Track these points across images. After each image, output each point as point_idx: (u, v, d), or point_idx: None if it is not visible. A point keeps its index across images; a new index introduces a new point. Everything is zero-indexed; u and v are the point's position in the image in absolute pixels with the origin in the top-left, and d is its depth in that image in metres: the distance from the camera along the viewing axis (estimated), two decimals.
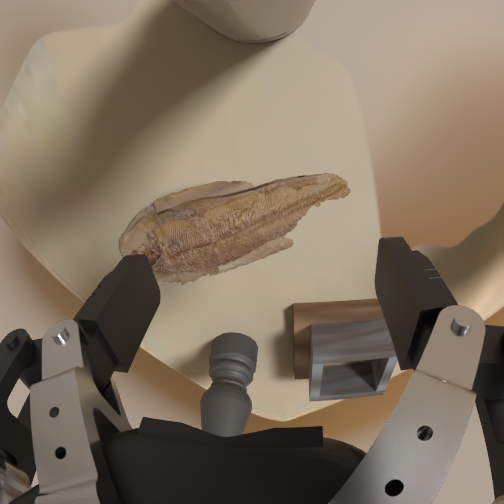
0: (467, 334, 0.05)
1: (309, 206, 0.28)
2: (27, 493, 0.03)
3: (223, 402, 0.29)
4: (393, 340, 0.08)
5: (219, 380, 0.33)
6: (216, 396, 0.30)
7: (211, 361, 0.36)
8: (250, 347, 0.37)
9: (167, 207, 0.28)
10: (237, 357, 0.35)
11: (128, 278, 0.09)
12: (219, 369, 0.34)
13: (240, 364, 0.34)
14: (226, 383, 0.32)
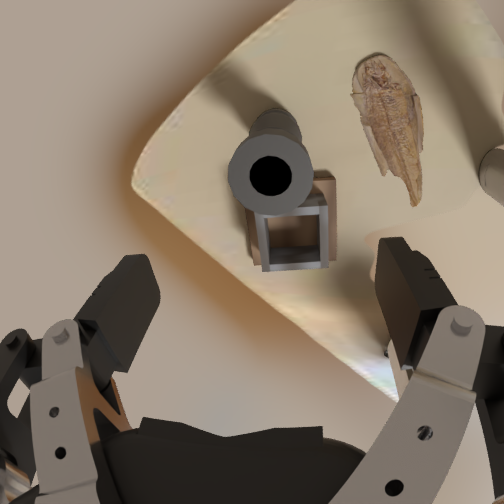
0: (467, 334, 0.05)
1: None
2: (27, 493, 0.03)
3: (300, 141, 0.31)
4: (393, 340, 0.08)
5: None
6: (300, 133, 0.31)
7: (283, 113, 0.36)
8: None
9: (415, 104, 0.35)
10: None
11: (128, 278, 0.09)
12: None
13: None
14: None
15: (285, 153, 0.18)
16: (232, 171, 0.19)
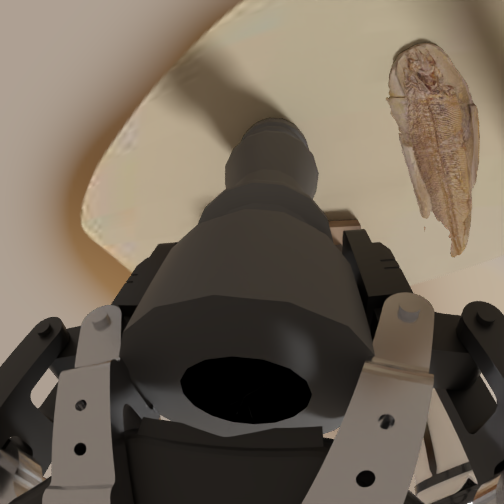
0: (412, 319, 0.05)
1: (450, 230, 0.29)
2: (27, 493, 0.03)
3: (316, 182, 0.18)
4: None
5: None
6: (316, 167, 0.18)
7: (285, 126, 0.23)
8: None
9: (472, 117, 0.22)
10: None
11: None
12: None
13: None
14: None
15: (296, 354, 0.05)
16: (133, 374, 0.06)
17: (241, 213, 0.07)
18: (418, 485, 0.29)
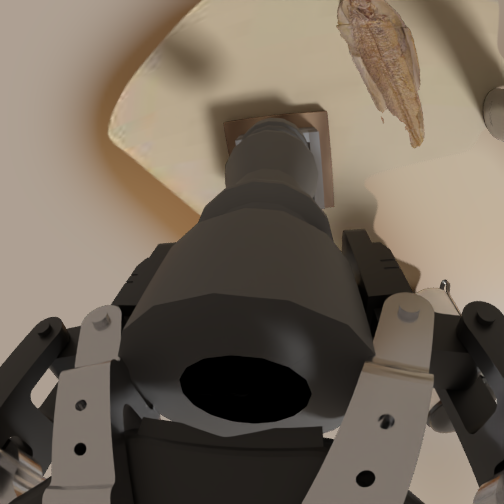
0: (412, 319, 0.05)
1: (405, 122, 0.36)
2: (27, 493, 0.03)
3: (316, 182, 0.18)
4: None
5: None
6: (316, 166, 0.18)
7: (285, 126, 0.23)
8: None
9: (406, 35, 0.28)
10: None
11: None
12: None
13: None
14: None
15: (296, 352, 0.05)
16: (132, 373, 0.06)
17: (241, 212, 0.07)
18: None
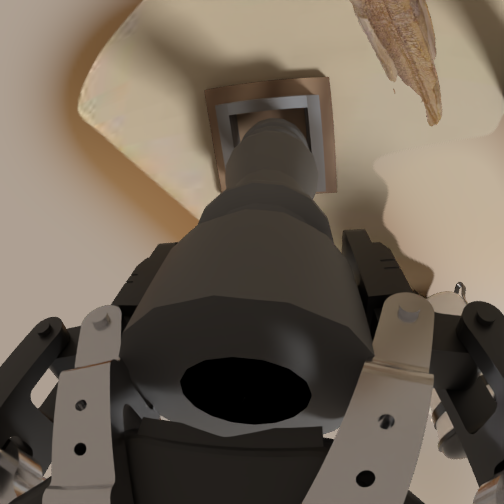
0: (412, 319, 0.05)
1: (421, 96, 0.28)
2: (27, 493, 0.03)
3: (316, 182, 0.18)
4: None
5: None
6: (316, 167, 0.18)
7: (285, 126, 0.23)
8: None
9: (419, 0, 0.21)
10: None
11: None
12: None
13: None
14: None
15: (296, 354, 0.05)
16: (133, 374, 0.06)
17: (241, 213, 0.07)
18: (437, 408, 0.28)
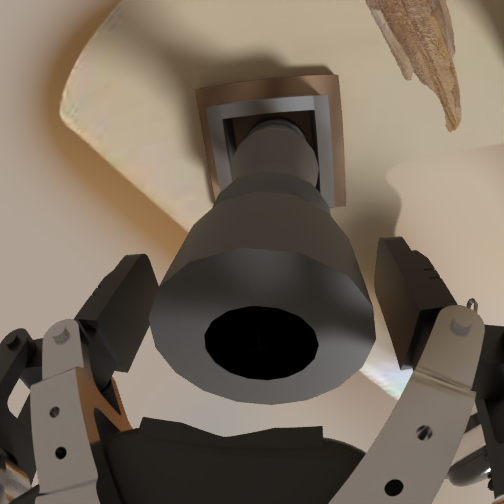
0: (466, 334, 0.05)
1: (439, 98, 0.24)
2: (27, 493, 0.03)
3: (316, 176, 0.19)
4: (393, 340, 0.08)
5: None
6: (316, 161, 0.19)
7: (286, 124, 0.24)
8: None
9: None
10: None
11: (128, 278, 0.09)
12: None
13: None
14: None
15: (306, 301, 0.06)
16: (161, 331, 0.07)
17: (256, 193, 0.08)
18: None
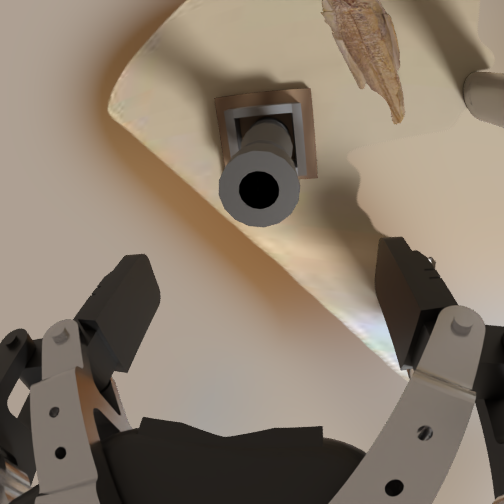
0: (467, 334, 0.05)
1: (386, 100, 0.38)
2: (27, 493, 0.03)
3: (291, 150, 0.33)
4: (393, 340, 0.08)
5: None
6: (291, 142, 0.33)
7: (275, 122, 0.37)
8: None
9: (386, 21, 0.31)
10: None
11: (128, 278, 0.09)
12: None
13: None
14: None
15: (273, 169, 0.19)
16: (223, 185, 0.20)
17: (256, 143, 0.21)
18: None
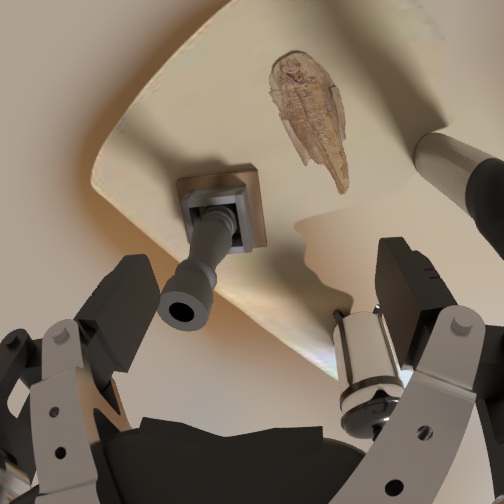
0: (467, 334, 0.05)
1: None
2: (27, 493, 0.03)
3: (229, 244, 0.42)
4: (393, 340, 0.08)
5: (226, 226, 0.45)
6: (230, 236, 0.42)
7: (223, 208, 0.47)
8: None
9: (333, 94, 0.40)
10: None
11: (128, 278, 0.09)
12: (229, 221, 0.46)
13: (233, 233, 0.48)
14: None
15: (187, 301, 0.29)
16: (159, 308, 0.30)
17: (182, 273, 0.31)
18: (340, 397, 0.48)
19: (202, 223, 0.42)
